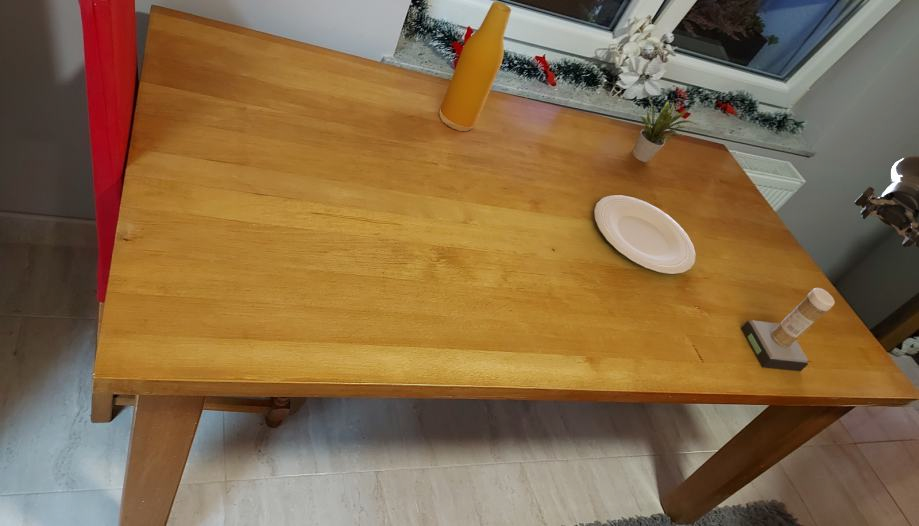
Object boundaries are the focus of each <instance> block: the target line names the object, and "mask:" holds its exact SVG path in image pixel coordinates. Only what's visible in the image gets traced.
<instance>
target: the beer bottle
mask: <svg viewBox="0 0 919 526" xmlns="http://www.w3.org/2000/svg"><path fill="white" fill-rule="evenodd" d="M511 12H512V8H510V6H508V5H507V4H505V3H503V2H500V1H493V2H492V4H491V5H490V7H489V9H488V11H487V12H486V15H485V17H484V19H483V20H482V22H481V24H480V26H479V28H478V29H477V30H475V32H474V33H472V34H471V36H469V37H468V39H467V40H466V41H465V43H464V45H463V47H462V50H461V51H460V55H459V58H458V61H457V62H456V66H455V68H454V71H453V74H452V76H451V79H450V82H449V84H448V87H447V89H446V93H445V94H444V98H443V100H442V102H441V105H440V107H441V108H440V107H439V110H440V109H441V112H442V114H443V115H444V116H445V117H446V118H447V119H448V120H450V121H451V122H453V123H455V124H457V125H461V126H464V127H471V126H474V125H475V124H476V125H477V123H478V121H479V118H480V116H481V113H482V111H483V108H484V106H485V104H486V101H487V99H488V96H489V94H490V92H491V90H492V87H493V85H494V82H495V80H496V77H497V75H498V73H499V71H500V69H501V66H502V63H503V60H504V55H505V54H504V52H505V50H504V49H505V48H504V46H505V45H504V38H505V33H506V29H507V27H508V23H509V19H510V17H511ZM476 125H475V126H476Z"/></svg>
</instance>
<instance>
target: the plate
mask: <svg viewBox="0 0 919 526" xmlns="http://www.w3.org/2000/svg"><path fill="white" fill-rule="evenodd" d="M593 214H594V221H595V224H596V226H597V229H598V230H599V232H600V233H601V235H602V236H603V237H604V239H605V240H606V242H608V244H609V245H610V246H611V247H612V248H614V249H615V250H616V251H617V252H618V253H619V254H620V255H622V256H624V257H625V258H626V259H628V260H629V261H630V262H631V263H632V262H633V263H634V264H636V265H638V266H640V267H642V268H644V269H647V270H649V271H653V272H656V273H659V274H665V275H680V274H684V273H686V272H688V271H689V270H691V269H692V267H693V266H694V264H695V263H696V255H697V254H696V250H695V247H694V244H693V242H692V241H691V238H690V237H689V235H688V233H687V232H686V231H685V230H684V228H683V227H682V226H681V225H680V224H679V223H678V222H677V221H676V220H674V219H673V218H672V217H671V215H669V214H667V213H666V212H664V211H663V210H661V209H660V208H658V207H656V206H655V205H654V204H650V203H649V202H647V201H645V200H642V199H639V198H637V197H633V196H628V195H622V194H620V195H619V194H615V195H613V194H612V195H611V194H610V195H607V196H605V197H604V196H603V197H602V198H601V199H600V200H599V201H597V202H596V204H595V207H594V209H593Z"/></svg>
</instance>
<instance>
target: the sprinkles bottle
mask: <svg viewBox="0 0 919 526" xmlns="http://www.w3.org/2000/svg"><path fill="white" fill-rule="evenodd" d="M835 302H836V301H835V299H834V297H833V296H832V295H831V293H829V292H828V291H827V290H825V289H824V288H821V287H815V288H813V289H811V291H809V292H808V294H807V295H806V297H805V298H804V299H803V300H802V301H800V303H798V305H796V306H795V308H793V310H792V311H790V312H789V313H788V314H787V315H786V316H785V317H784V318H783V319H782V320H781V322H780V323H778V324H779V325H778V326H777V327H776V328H775V329H773V330H772V331H771V336H772V338H773V340H774V341H775V342H776V343H777V344H779V345H781V346H783V347H790V346H791V344H792V343H793V342H794V341H795V340H796V341H797V340H798V339H799V338H800V337H801V336H803V335H804V333H806V332H807V331H808V330H809V329H810V328H811V327H812V326H813V324H815V322H816V321H818V320H819V319H820V318H821V317H822V316H823V315H824V314H825V313H827V312H829V311H830V310H831V309H832V308H833V306H834V305H835Z"/></svg>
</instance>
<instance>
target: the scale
mask: <svg viewBox="0 0 919 526" xmlns="http://www.w3.org/2000/svg"><path fill="white" fill-rule="evenodd" d="M779 324H780V323H777V322H771V321H762V320H761V321H760V320H754V319H752V320H750V321H749V320H747V321H746V322H745V323H744V324H743V325H742V326H741V327H740V330H741V332H742V333H743V335H744V338H745V339H746V341H747V343H748V345H749V346H750V348H751V350H752V352H753V353H754V356H755V357H756V359H757V361H758V363H759V364H760V366H761V368H762V369H773V370H784V371H792V372H793V371H794V372H802V371H803V370H805V368H806V367H807V366H808V365H809V363H808V361H809V359H808V357H807V355H806V354H805V352H804V351H803V349H802V347H801V346H800V345H799V342H798V341H797V339H796V340H795V341H794V342H793V343H792V344H791V346H790V347H783V346H781V345H779V344H777V343H776V342H775V341H774V340H773V338H772V336H771V331H772V330H773V329H775V328H776V327H777V326H778V325H779Z"/></svg>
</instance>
